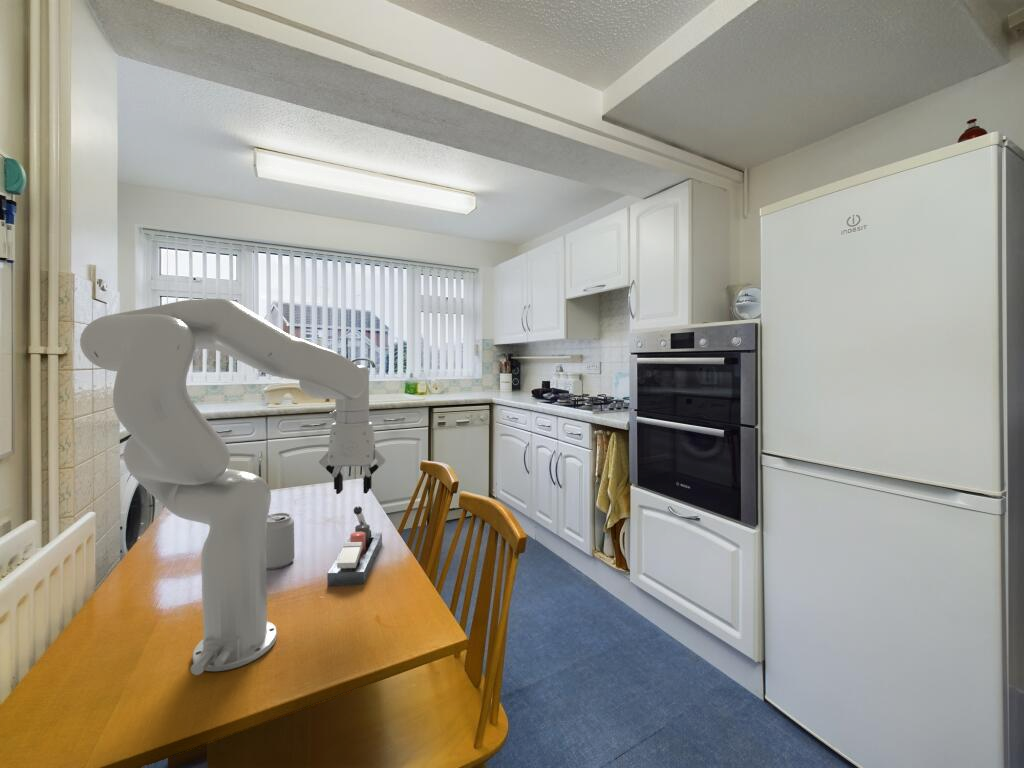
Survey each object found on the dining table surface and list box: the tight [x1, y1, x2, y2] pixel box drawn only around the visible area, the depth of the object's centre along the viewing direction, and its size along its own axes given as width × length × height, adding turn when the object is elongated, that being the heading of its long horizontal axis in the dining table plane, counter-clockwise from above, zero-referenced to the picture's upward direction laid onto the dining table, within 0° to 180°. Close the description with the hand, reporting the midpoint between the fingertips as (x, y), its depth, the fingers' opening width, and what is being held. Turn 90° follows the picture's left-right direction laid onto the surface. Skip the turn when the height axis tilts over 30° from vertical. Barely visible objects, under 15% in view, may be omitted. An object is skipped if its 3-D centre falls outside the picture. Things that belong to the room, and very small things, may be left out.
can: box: [266, 512, 295, 570], centre depth 108 cm, size 8×8×12 cm
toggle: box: [353, 505, 367, 525], centre depth 118 cm, size 2×2×7 cm
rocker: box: [337, 542, 362, 569], centre depth 102 cm, size 7×4×2 cm, turn 6°
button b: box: [354, 523, 371, 546], centre depth 115 cm, size 4×4×4 cm
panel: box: [326, 529, 383, 587], centre depth 109 cm, size 22×8×4 cm, turn 6°
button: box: [349, 531, 367, 554], centre depth 110 cm, size 4×4×4 cm
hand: (353, 491), depth 104 cm, fingers open, 5 cm apart
